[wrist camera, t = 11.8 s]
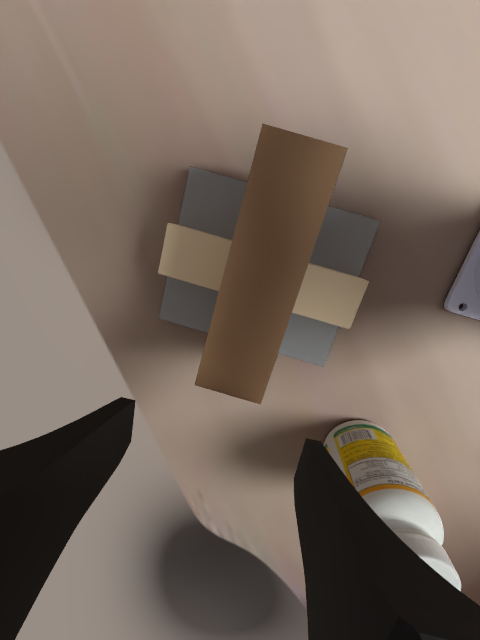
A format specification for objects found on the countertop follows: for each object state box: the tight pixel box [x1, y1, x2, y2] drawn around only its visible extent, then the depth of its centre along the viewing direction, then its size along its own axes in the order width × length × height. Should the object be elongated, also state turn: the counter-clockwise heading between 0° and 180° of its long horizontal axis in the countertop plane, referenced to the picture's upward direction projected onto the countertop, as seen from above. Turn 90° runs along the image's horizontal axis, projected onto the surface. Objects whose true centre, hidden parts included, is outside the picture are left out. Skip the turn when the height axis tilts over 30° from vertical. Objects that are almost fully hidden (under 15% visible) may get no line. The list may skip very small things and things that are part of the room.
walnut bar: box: [195, 124, 348, 404], centre depth 15 cm, size 4×12×4 cm, turn 165°
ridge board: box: [158, 166, 381, 367], centre depth 19 cm, size 12×10×3 cm
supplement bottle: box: [324, 420, 461, 592], centre depth 18 cm, size 5×5×10 cm
